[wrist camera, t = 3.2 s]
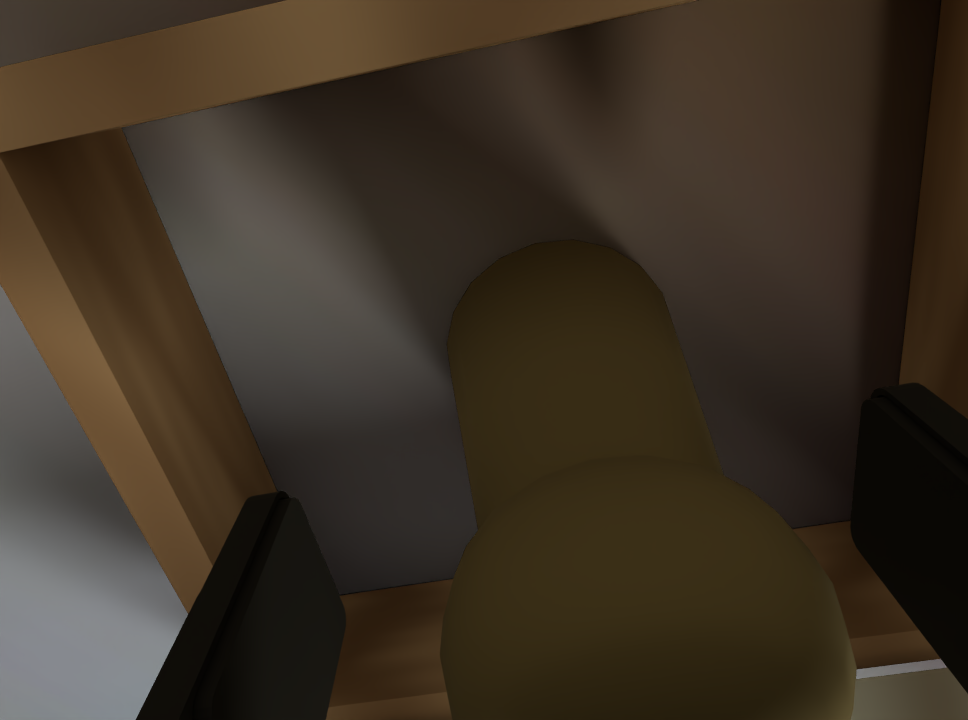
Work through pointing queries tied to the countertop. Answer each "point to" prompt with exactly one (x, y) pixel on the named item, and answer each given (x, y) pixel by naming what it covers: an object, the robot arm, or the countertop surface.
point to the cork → (616, 521)
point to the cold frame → (197, 366)
